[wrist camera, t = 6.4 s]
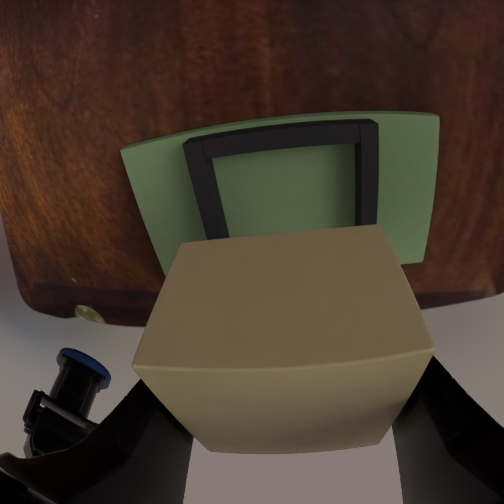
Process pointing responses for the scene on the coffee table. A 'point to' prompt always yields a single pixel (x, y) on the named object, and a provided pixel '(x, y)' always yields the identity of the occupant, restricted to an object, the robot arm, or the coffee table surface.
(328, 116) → the pad
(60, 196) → the coffee table surface
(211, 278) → the foam block
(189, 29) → the coffee table surface
